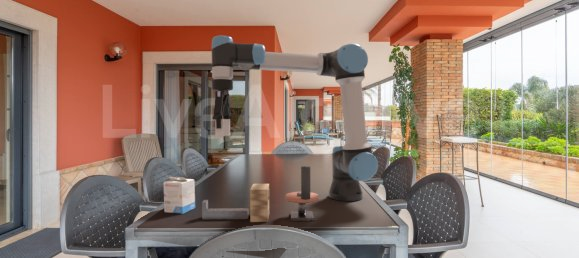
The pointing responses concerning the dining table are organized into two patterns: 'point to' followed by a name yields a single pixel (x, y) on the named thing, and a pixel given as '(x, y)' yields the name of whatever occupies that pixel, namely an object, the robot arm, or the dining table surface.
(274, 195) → the dining table surface
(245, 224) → the dining table surface
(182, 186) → the ink box
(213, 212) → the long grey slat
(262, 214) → the eye block
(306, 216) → the wheel post
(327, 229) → the dining table surface
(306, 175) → the handwheel
